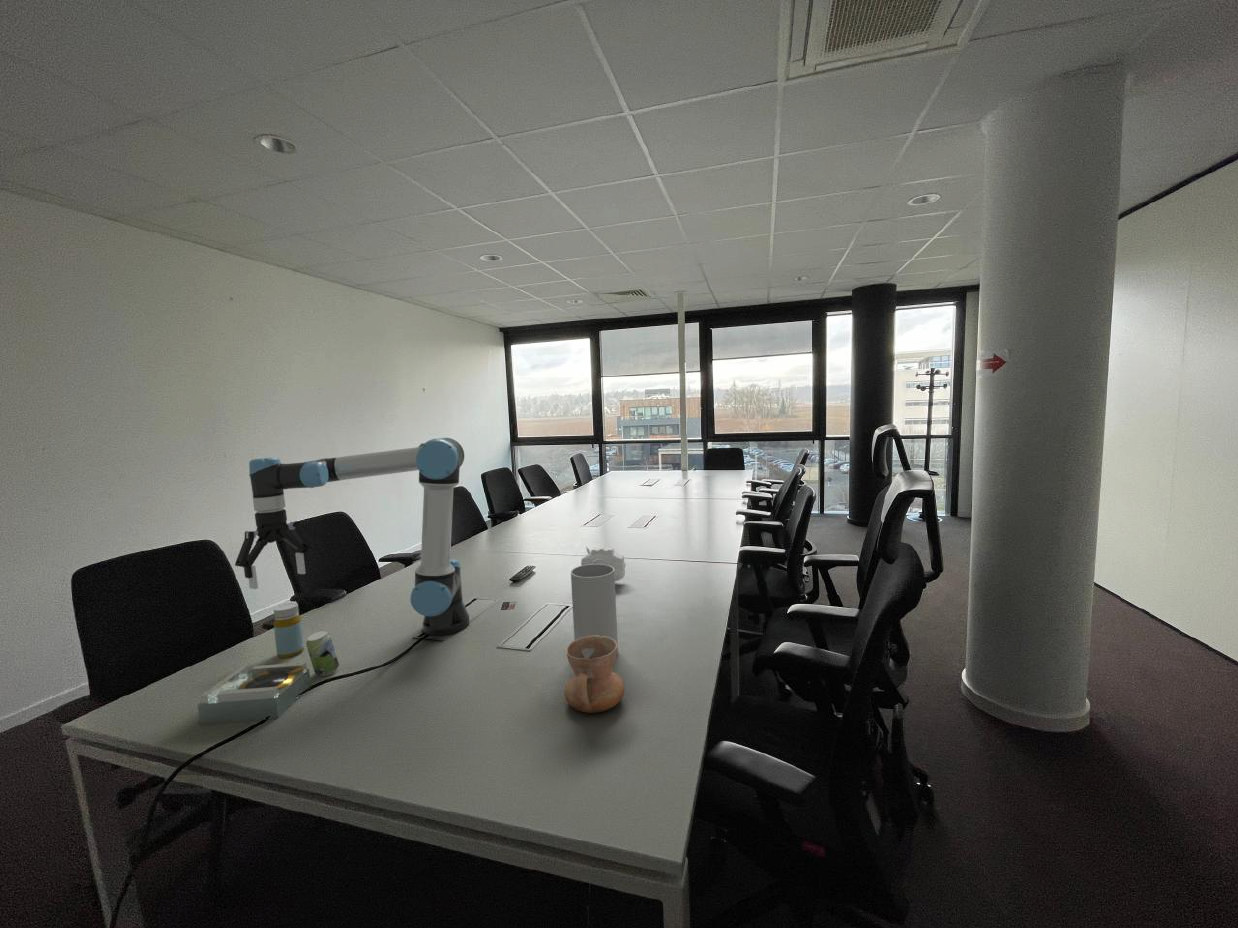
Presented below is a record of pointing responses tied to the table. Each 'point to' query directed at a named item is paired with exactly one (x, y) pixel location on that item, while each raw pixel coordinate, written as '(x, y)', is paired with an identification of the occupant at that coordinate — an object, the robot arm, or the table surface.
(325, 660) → the beverage can
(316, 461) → the robot arm
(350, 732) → the table surface
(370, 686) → the table surface
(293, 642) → the bottle
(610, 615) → the cylinder vase
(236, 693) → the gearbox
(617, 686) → the ceramic jug
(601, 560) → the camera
